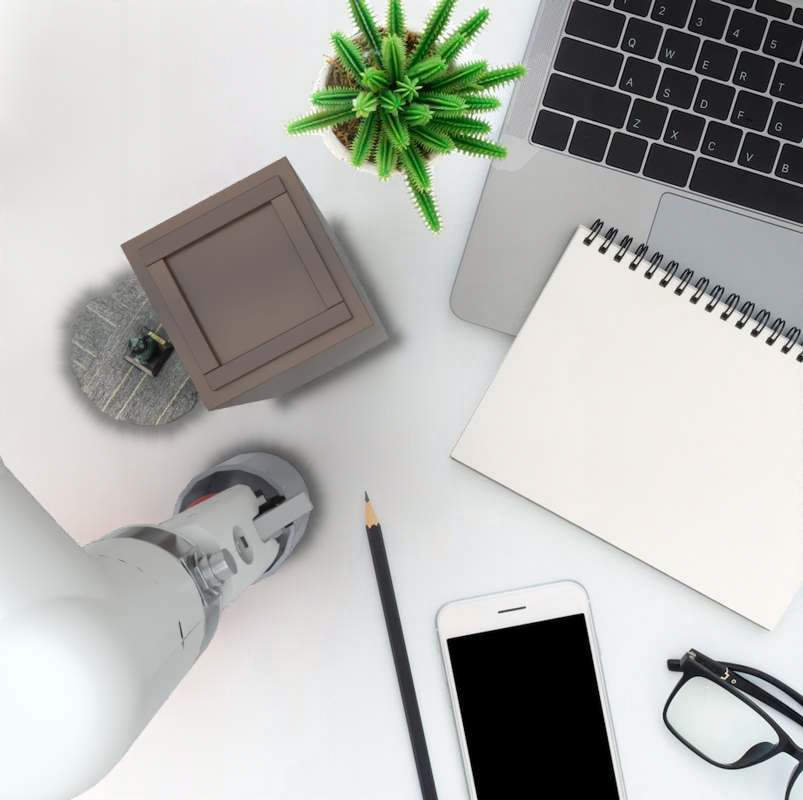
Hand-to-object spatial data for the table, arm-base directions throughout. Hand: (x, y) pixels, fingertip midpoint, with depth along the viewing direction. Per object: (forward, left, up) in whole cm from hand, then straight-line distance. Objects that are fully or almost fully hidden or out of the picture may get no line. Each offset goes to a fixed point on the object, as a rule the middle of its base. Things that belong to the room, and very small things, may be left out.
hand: (224, 533), depth 57 cm
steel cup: (0, 0, -12) cm, 12 cm away
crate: (-12, +11, -12) cm, 20 cm away
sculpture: (-16, -2, -12) cm, 20 cm away
